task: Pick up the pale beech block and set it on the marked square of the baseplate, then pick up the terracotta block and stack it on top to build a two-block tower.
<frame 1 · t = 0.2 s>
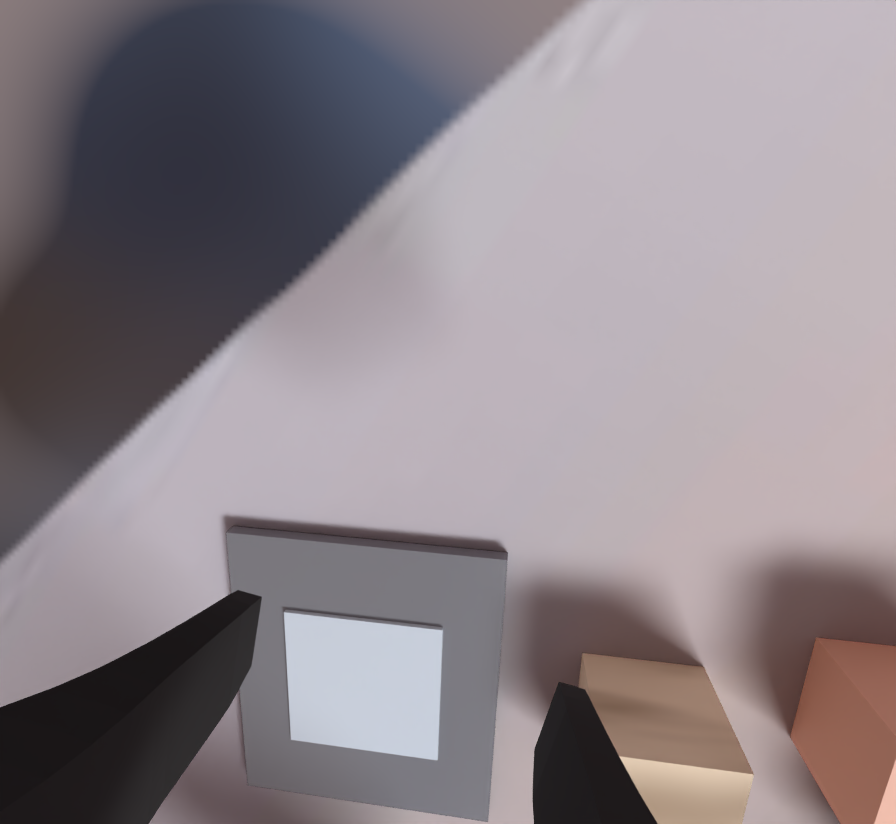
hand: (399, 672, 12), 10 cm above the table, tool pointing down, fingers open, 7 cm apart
beech block: (634, 706, 23), on the table
terracotta block: (866, 694, 22), on the table
baseplate: (367, 674, 24), on the table
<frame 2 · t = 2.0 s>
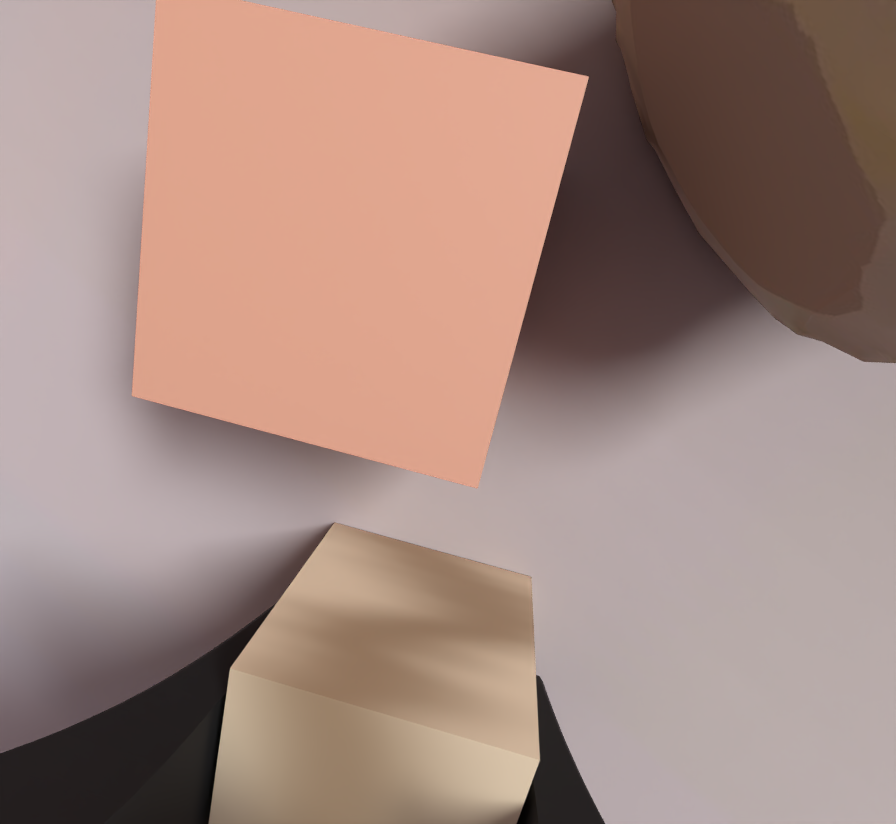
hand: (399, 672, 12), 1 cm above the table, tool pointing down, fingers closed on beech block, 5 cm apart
beech block: (410, 632, 14), on the table, touching gripper
terracotta block: (409, 261, 11), on the table
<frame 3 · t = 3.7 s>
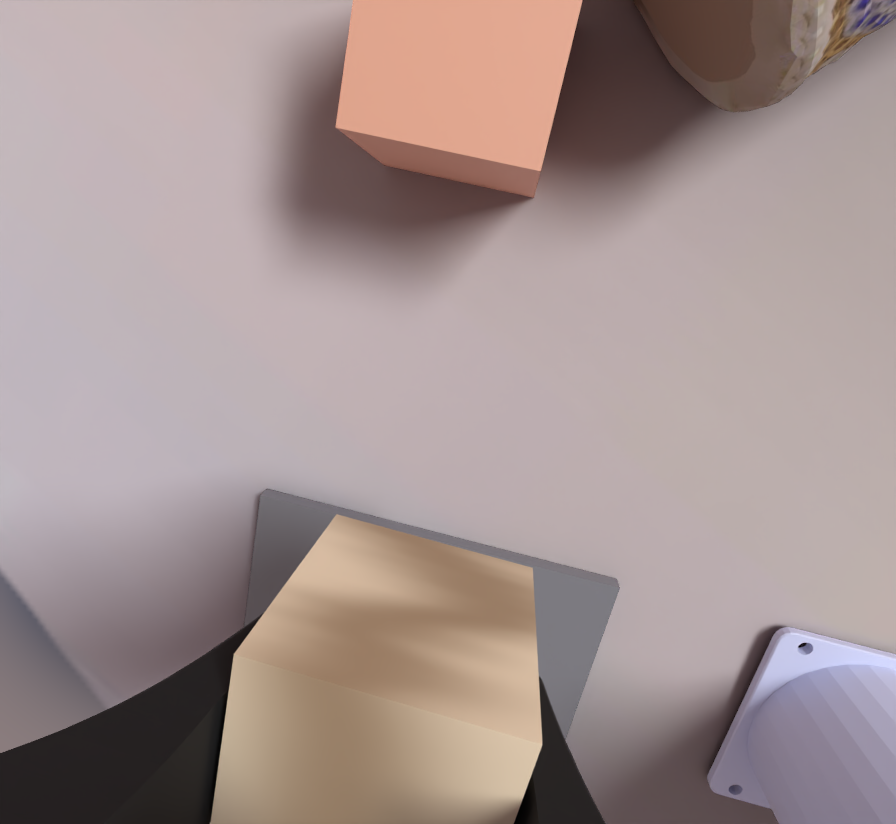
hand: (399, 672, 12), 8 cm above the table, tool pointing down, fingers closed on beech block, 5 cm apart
beech block: (412, 624, 14), point 7 cm above the table, touching gripper
terracotta block: (475, 97, 17), on the table
baseplate: (409, 657, 22), on the table
when the fingers open (3 cm above the table, at t = 5.6 s): beech block stays where it is, resting on baseplate.
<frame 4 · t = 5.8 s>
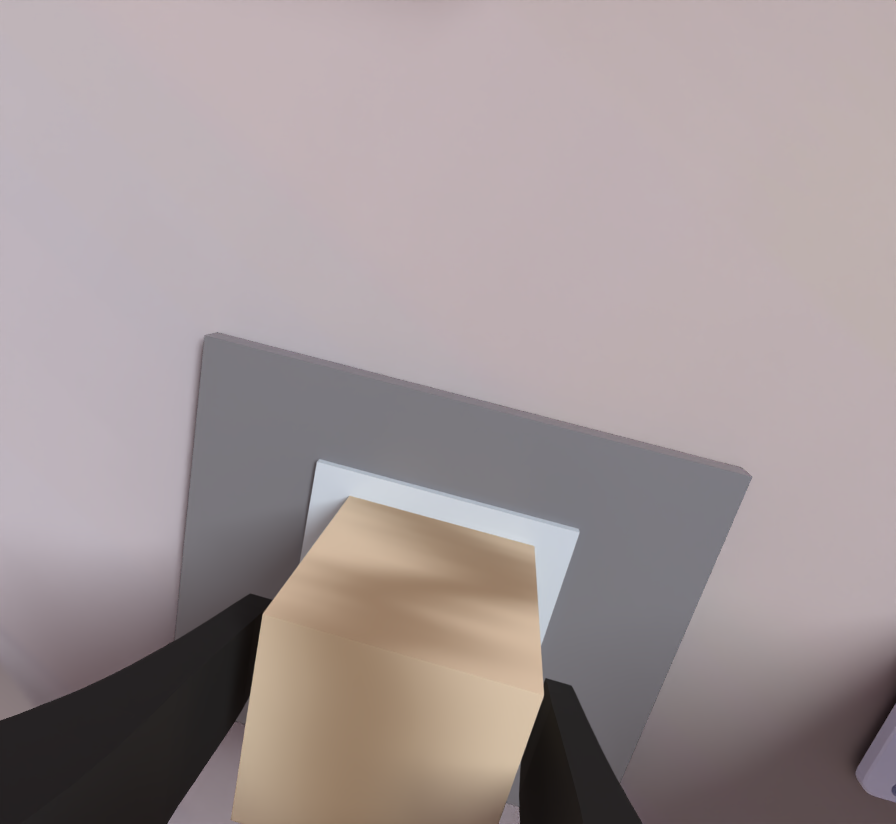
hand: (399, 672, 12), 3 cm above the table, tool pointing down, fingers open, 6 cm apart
beech block: (420, 600, 15), point 1 cm above the table, touching baseplate
baseplate: (422, 592, 15), on the table
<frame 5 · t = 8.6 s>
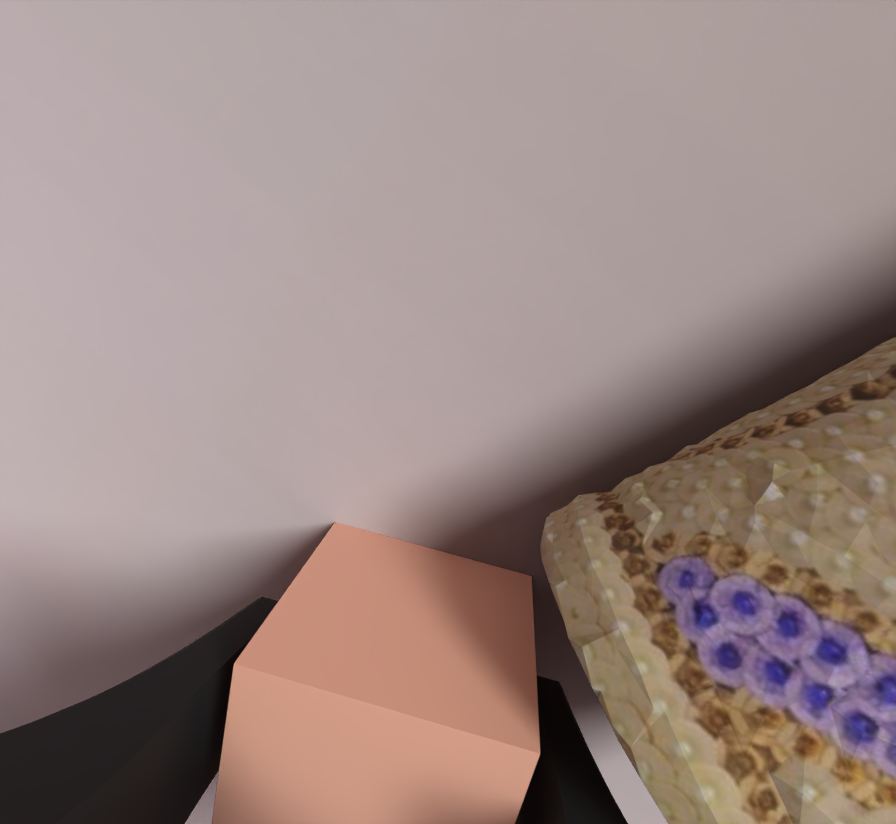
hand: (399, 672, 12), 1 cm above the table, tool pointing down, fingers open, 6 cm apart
terracotta block: (411, 629, 14), on the table
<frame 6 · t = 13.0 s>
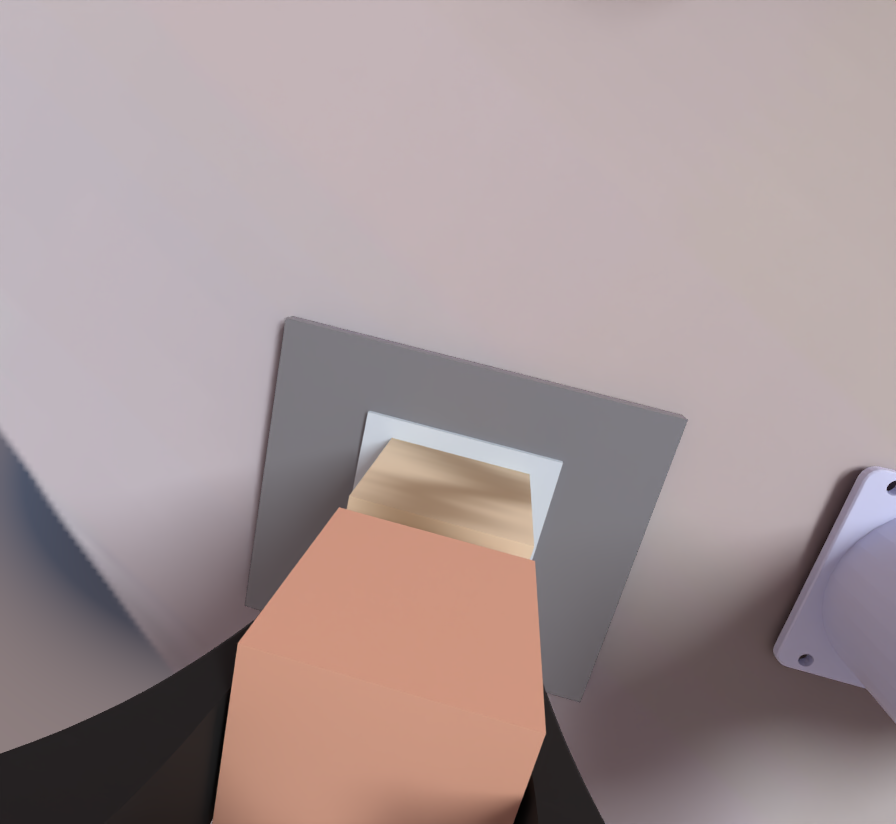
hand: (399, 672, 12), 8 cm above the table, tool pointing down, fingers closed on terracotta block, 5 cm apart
beech block: (444, 518, 19), point 1 cm above the table, touching baseplate
terracotta block: (414, 617, 14), point 7 cm above the table, touching gripper
baseplate: (444, 515, 20), on the table
when the fingers open (8 cm above the table, at t = 13.0 s): terracotta block stays where it is, resting on beech block.
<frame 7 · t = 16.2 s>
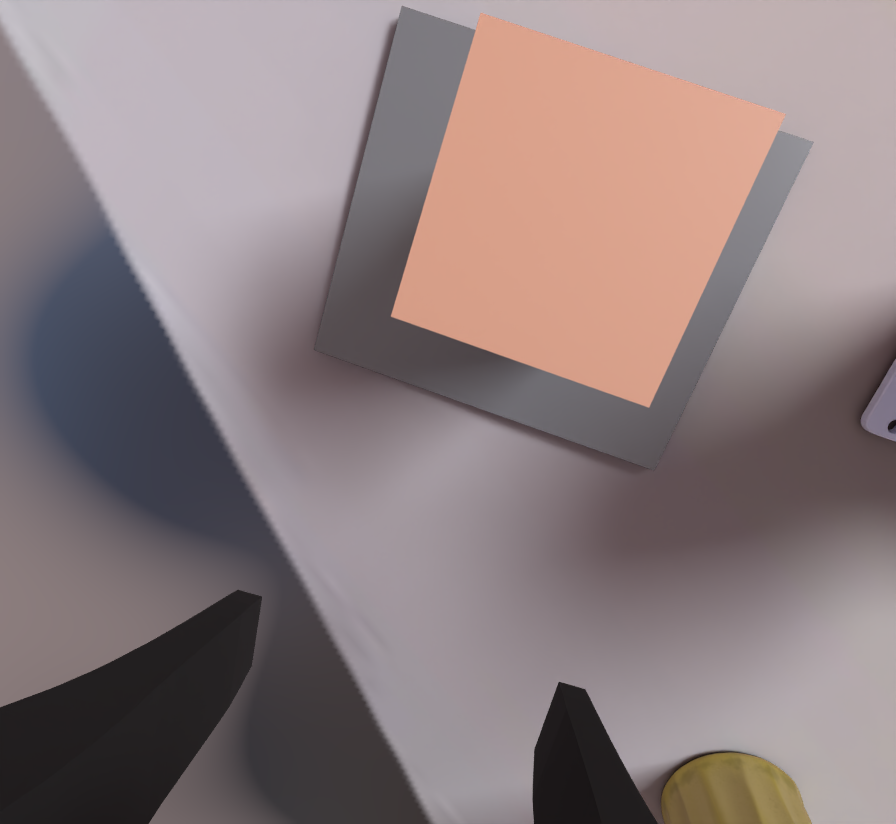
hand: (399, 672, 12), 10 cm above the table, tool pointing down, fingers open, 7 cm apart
terracotta block: (552, 239, 14), point 6 cm above the table, touching beech block
baseplate: (537, 257, 19), on the table
vase: (727, 797, 25), on the table
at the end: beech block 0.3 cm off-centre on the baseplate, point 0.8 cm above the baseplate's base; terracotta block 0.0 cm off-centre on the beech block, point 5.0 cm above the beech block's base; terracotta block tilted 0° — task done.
